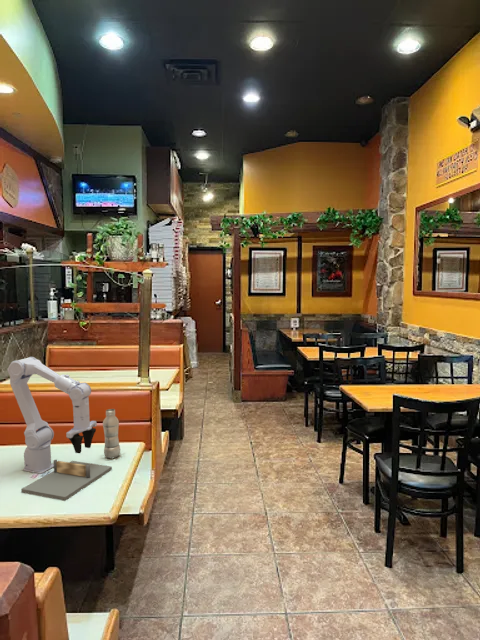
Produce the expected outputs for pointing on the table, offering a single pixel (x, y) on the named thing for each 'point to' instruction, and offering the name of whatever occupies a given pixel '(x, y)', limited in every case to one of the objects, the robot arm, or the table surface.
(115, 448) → the plastic bottle
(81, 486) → the gate board
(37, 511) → the table surface
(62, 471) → the board
